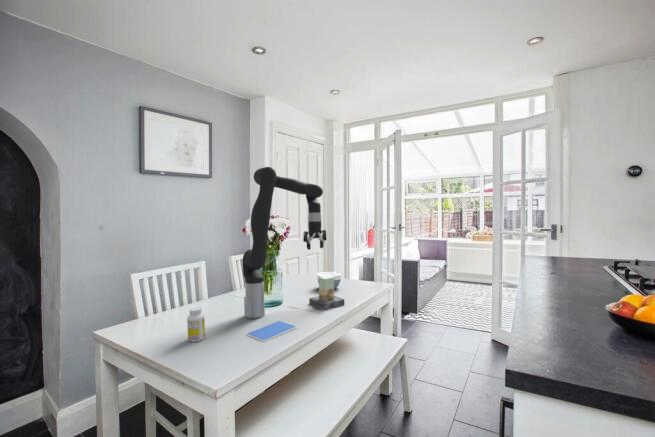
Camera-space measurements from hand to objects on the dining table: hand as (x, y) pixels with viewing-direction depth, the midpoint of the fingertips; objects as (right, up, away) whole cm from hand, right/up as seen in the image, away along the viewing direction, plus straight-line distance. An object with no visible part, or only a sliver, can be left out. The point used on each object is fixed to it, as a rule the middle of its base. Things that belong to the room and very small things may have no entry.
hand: (315, 248), depth 185 cm
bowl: (+8, -29, +29) cm, 42 cm away
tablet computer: (-17, -33, -43) cm, 57 cm away
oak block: (+6, -27, -6) cm, 29 cm away
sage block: (+6, -21, -6) cm, 23 cm away
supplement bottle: (-48, -33, -50) cm, 77 cm away
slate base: (+7, -30, -6) cm, 31 cm away
